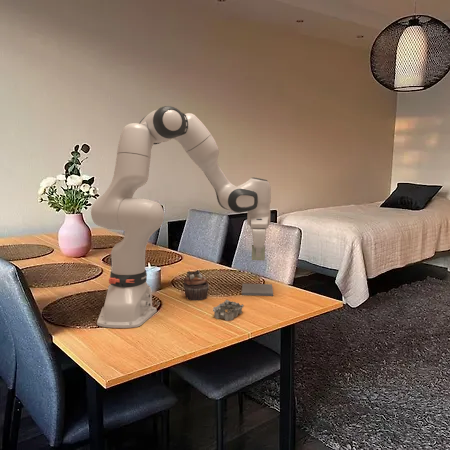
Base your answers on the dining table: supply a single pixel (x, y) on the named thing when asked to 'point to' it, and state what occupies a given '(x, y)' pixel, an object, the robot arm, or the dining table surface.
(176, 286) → the dining table surface
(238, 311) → the egg carton
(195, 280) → the cupcake
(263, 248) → the cube
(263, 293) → the slate plate
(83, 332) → the dining table surface
